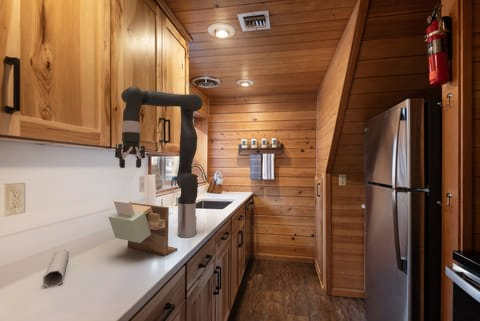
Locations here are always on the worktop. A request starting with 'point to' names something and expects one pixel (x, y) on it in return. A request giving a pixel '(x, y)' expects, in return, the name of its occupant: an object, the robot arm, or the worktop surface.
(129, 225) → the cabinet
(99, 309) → the worktop surface
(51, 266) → the tube
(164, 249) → the wall board
